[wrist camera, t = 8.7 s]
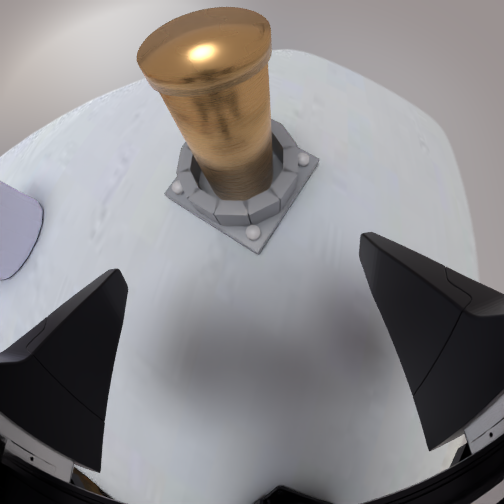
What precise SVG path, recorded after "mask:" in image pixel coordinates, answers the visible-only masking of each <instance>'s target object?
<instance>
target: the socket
mask: <svg viewBox="0 0 504 504" xmlns="http://www.w3.org/2000/svg"><path fill="white" fill-rule="evenodd" d="M271 131H272V155H273V180H272V183H271V186H270V187H269V189H268V190H266V191H264V192H262V193H260V194H258V195H256V196H254V197H252V198H250V199H248V200H246V201H231V200H222V199H220V198H219V197H218V196H217V195H216V194H215V193H214V192H213V190H212V188H211V187H210V185H209V183H208V181H207V179H206V177H205V176H204V174H203V172H202V170H201V168H200V166H199V165H198V163H197V161H196V159H195V157H194V155H193V154H192V152H191V150H190V148H189V146H188V144H187V143H186V142H185V143H184V145H183V146H182V147H183V148H181V152H180V156H179V161H178V167H177V172H176V173H177V177H176V178H175V180H174V181H173V182H172V184H171V185H170V186H169V188H168V189H167V190H166V192H165V193H164V194H165V195H166V196H167V197H168V198H169V199H171V200H172V201H174V202H175V203H177V204H179V205H180V206H182V207H183V208H185V209H187V210H188V211H190V212H191V213H193V214H194V215H196V216H198V217H199V218H201V219H202V220H204V221H205V222H207V223H209V224H210V225H212V226H213V227H215V228H217V229H218V230H220V231H221V232H223V233H224V234H226V235H228V236H229V237H231V238H232V239H234V240H235V241H237V242H239V243H240V244H242V245H243V246H245V247H247V248H248V249H250V250H251V251H253V252H254V253H256V254H258V255H259V253H260V252H261V250H262V249H263V247H264V246H265V244H266V243H267V241H268V239H269V238H270V236H271V235H272V233H273V232H274V230H275V229H276V227H277V226H278V224H279V223H280V221H281V220H282V218H283V217H284V215H285V214H286V212H287V211H288V209H289V207H290V206H291V204H292V203H293V201H294V200H295V198H296V197H297V195H298V194H299V192H300V191H301V189H302V188H303V186H304V185H305V183H306V181H307V180H308V178H309V177H310V175H311V174H312V172H313V171H314V169H315V168H316V166H317V165H318V162H319V158H317V157H315V156H313V155H311V154H309V153H308V152H306V151H304V150H302V149H300V148H298V146H297V144H296V143H295V141H294V140H293V138H292V137H291V136H290V134H289V133H288V132H287V130H286V129H285V127H284V126H283V125H281V123H279V122H277V121H274V120H272V119H271Z"/></svg>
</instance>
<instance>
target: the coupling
mask: <svg viewBox="0 0 504 504" xmlns="http://www.w3.org/2000/svg"><path fill="white" fill-rule="evenodd" d="M271 53H272V46H271V28H270V24H269V22H268V21H267V20H266V18H265V17H263V16H262V15H260V14H258V13H256V12H254V11H251V10H247V9H243V8H235V7H219V8H210V9H203V10H199V11H195V12H192V13H189V14H185V15H183V16H180V17H178V18H176V19H174V20H171V21H169V22H168V23H166V24H164V25H162V26H161V27H160V28H158V29H157V30H155V31H154V32H153V33H152V34H150V35H149V36H148V37H147V38H146V39H145V41H144V42H143V43H142V45H141V46H140V48H139V50H138V53H137V62H138V65H139V67H140V68H141V70H142V72H143V74H144V76H145V77H146V79H147V81H148V83H149V84H150V86H151V87H152V88H153V89H154V90H156V91H158V92H159V93H160V95H161V97H162V98H163V100H164V102H165V104H166V106H167V108H168V109H169V111H170V113H171V115H172V117H173V119H174V121H175V122H176V124H177V126H178V128H179V130H180V132H181V133H182V135H183V137H184V139H185V141H186V143H187V144H188V146H189V148H190V150H191V152H192V154H193V155H194V157H195V159H196V161H197V163H198V165H199V166H200V168H201V170H202V172H203V174H204V176H205V177H206V179H207V181H208V183H209V185H210V187H211V188H212V190H213V192H214V193H215V194H216V195H217V196H218V197H219V198H220V199H222V200H231V201H246V200H248V199H250V198H252V197H254V196H256V195H258V194H260V193H262V192H264V191H266V190H268V189H269V187H270V186H271V183H272V180H273V155H272V131H271V111H270V92H269V75H268V61H269V60H270V57H271Z"/></svg>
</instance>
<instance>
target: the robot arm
mask: <svg viewBox="0 0 504 504" xmlns="http://www.w3.org/2000/svg"><path fill="white" fill-rule="evenodd" d="M359 257H360V261H361V264H362V267H363V269H364V272H365V275H366V278H367V281H368V284H369V287H370V290H371V293H372V295H373V297H374V300H375V302H376V304H377V306H378V309H379V311H380V313H381V315H382V318H383V320H384V322H385V325H386V327H387V329H388V332H389V334H390V336H391V339H392V341H393V344H394V346H395V349H396V351H397V354H398V357H399V359H400V362H401V364H402V367H403V370H404V373H405V375H406V378H407V381H408V384H409V387H410V389H411V392H412V395H413V399H414V402H415V405H416V408H417V411H418V415H419V418H420V421H421V425H422V428H423V432H424V435H425V439H426V443H427V446H428V449H429V451H432V450H434V449H436V448H438V447H440V446H442V445H444V444H446V443H448V442H450V441H452V440H454V439H455V438H457V437H459V436H461V435H463V434H465V437H466V440H467V443H466V444H465V445H463V446H461V447H460V448H458V450H457V452H456V454H455V457H454V459H453V461H452V463H451V465H450V467H449V468H448V469H446V470H444V471H442V472H440V473H438V474H436V475H434V476H432V477H430V478H428V479H426V480H424V481H421V482H419V483H417V484H415V485H412V486H410V487H407V488H405V489H402V490H400V491H397V492H394V493H392V494H389V495H386V496H383V497H380V498H377V499H374V500H370V501H367V502H364V503H360V504H504V294H502V293H500V292H498V291H496V290H494V289H492V288H490V287H487V286H485V285H483V284H481V283H479V282H476V281H474V280H472V279H470V278H468V277H466V276H464V275H462V274H460V273H458V272H456V271H454V270H452V269H450V268H448V267H445V266H444V265H442V264H440V263H438V262H436V261H434V260H432V259H430V258H428V257H426V256H423V255H421V254H419V253H417V252H415V251H413V250H411V249H409V248H407V247H404V246H402V245H400V244H398V243H396V242H394V241H391V240H389V239H387V238H385V237H382V236H380V235H378V234H376V233H373V232H367V233H362V234H361V237H360V249H359ZM127 294H128V286H127V283H126V281H125V279H124V277H123V275H122V273H121V271H120V270H119V269H110V270H108V271H106V272H105V273H104V274H102V275H101V276H100V277H98V278H97V279H95V280H94V281H93V282H91V283H90V284H89V285H87V286H86V287H85V288H83V289H82V290H81V291H79V292H78V293H77V294H75V295H74V296H73V297H71V298H70V299H69V300H68V301H66V302H65V303H64V304H62V305H61V306H60V307H59V308H57V309H56V310H55V311H54V312H52V313H51V314H50V315H49V316H48V317H46V318H45V319H44V320H43V321H41V322H40V323H39V324H38V325H36V326H35V327H34V328H33V329H31V330H30V331H29V332H28V333H26V334H25V335H24V336H22V337H21V338H20V339H19V340H17V341H16V342H15V343H13V344H12V345H11V346H10V347H8V348H7V349H6V350H4V351H3V352H1V353H0V504H127V503H123V502H120V501H116V500H113V499H110V498H107V497H104V496H101V495H98V494H95V493H93V492H90V491H87V490H86V489H85V487H84V485H83V483H82V482H81V480H80V478H79V476H78V475H77V474H74V473H73V468H74V464H75V465H78V466H81V467H83V468H86V469H89V470H92V471H95V472H98V473H100V471H101V458H102V445H103V434H104V425H105V422H104V421H105V416H106V408H107V402H108V395H109V389H110V383H111V377H112V372H113V367H114V362H115V357H116V352H117V347H118V343H119V338H120V334H121V330H122V325H123V320H124V313H125V307H126V300H127ZM278 491H282V492H278ZM255 504H332V503H328V502H325V501H322V500H319V499H316V498H313V497H310V496H307V495H304V494H301V493H298V492H296V491H293V490H291V489H288V488H286V487H283V486H279V487H276V488H275V489H274V490H273V491H272V492H271V493H269V494H268V495H267V496H266V497H265V498H264V499H260V500H258V501H257V502H256V503H255Z"/></svg>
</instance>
